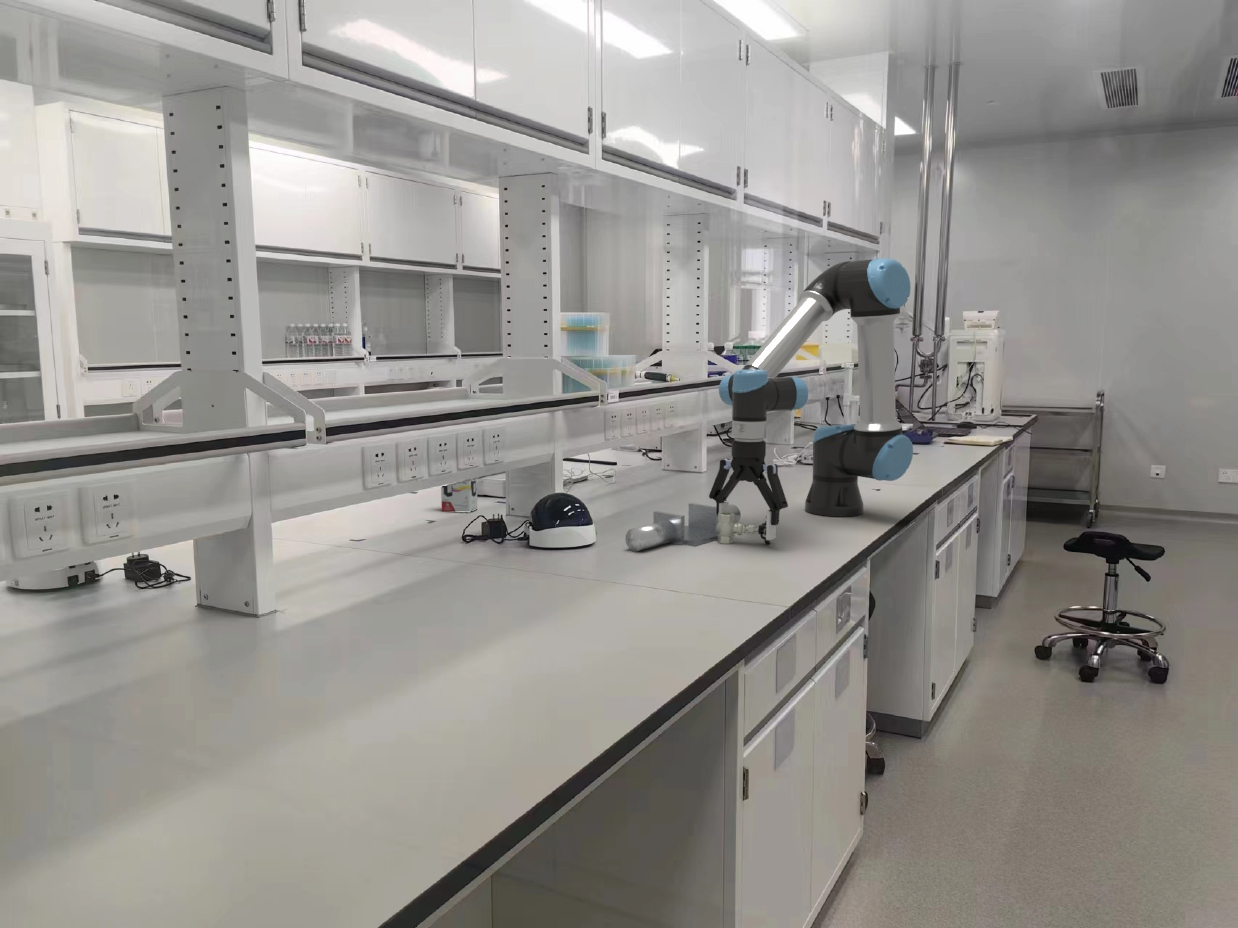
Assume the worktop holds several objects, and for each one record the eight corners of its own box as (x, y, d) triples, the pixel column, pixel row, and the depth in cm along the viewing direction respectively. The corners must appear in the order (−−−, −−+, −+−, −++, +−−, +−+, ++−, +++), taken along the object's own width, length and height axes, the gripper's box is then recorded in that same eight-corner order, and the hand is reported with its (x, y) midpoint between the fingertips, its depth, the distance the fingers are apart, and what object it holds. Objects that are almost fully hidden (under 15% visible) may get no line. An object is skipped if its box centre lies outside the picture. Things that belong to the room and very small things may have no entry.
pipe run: (709, 520, 223) (709, 495, 222) (755, 528, 214) (756, 502, 213) (610, 546, 196) (610, 517, 195) (659, 556, 186) (659, 526, 186)
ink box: (440, 511, 234) (439, 467, 233) (449, 508, 239) (448, 465, 237) (469, 513, 232) (468, 469, 230) (478, 509, 236) (477, 466, 235)
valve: (714, 544, 197) (768, 548, 194) (715, 515, 196) (769, 518, 193) (718, 538, 204) (771, 541, 201) (719, 510, 203) (771, 512, 200)
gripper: (694, 436, 200) (693, 529, 203) (787, 445, 184) (784, 546, 187) (714, 434, 206) (712, 524, 209) (805, 442, 190) (802, 540, 193)
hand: (746, 534), depth 198 cm, fingers closed on valve, 12 cm apart
